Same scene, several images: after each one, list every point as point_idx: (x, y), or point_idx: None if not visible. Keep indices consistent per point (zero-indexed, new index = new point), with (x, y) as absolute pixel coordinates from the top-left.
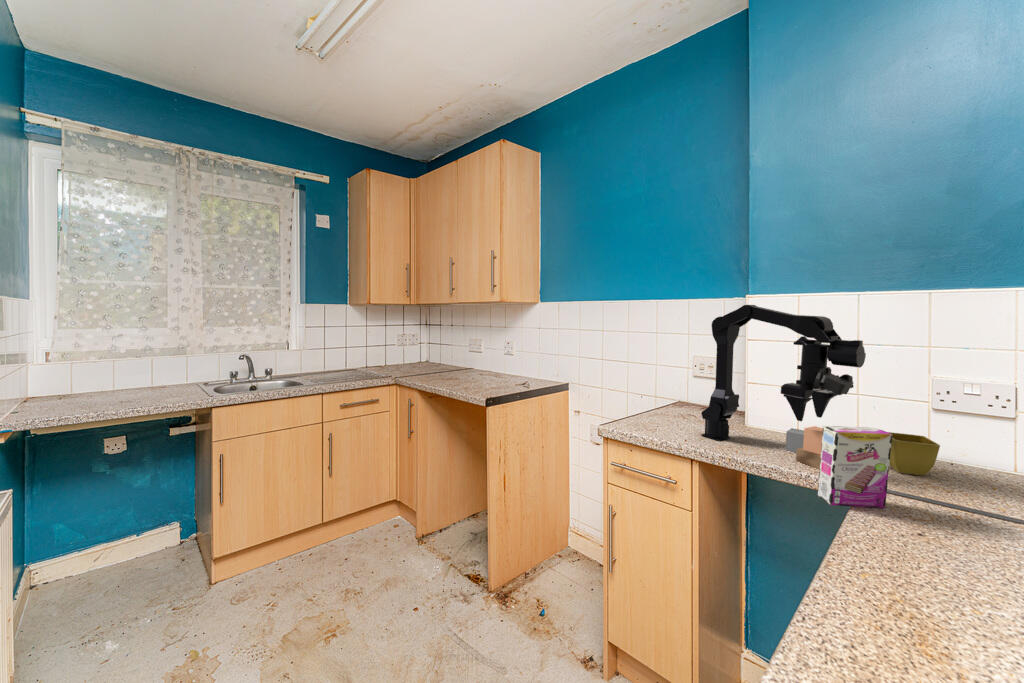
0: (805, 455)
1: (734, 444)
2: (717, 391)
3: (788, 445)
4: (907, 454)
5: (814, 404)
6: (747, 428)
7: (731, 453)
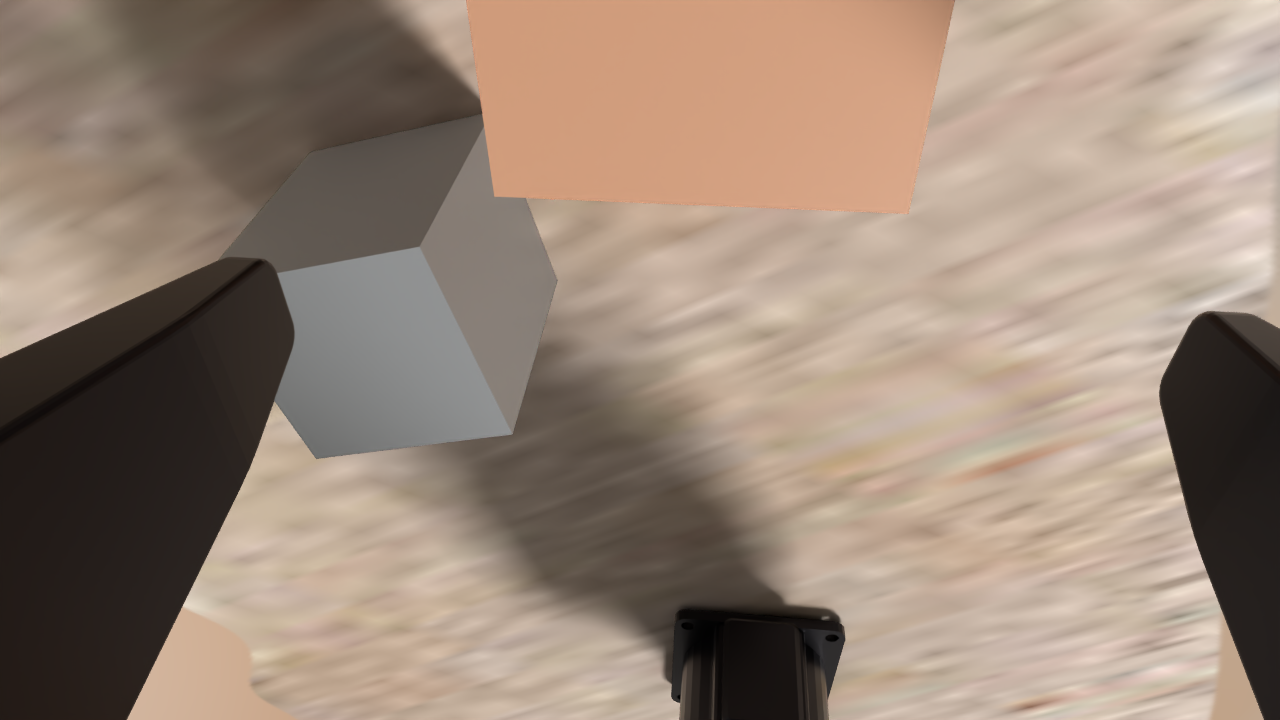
0: None
1: (807, 543)
2: None
3: (536, 299)
4: None
5: (137, 658)
6: (311, 642)
7: (1107, 461)
